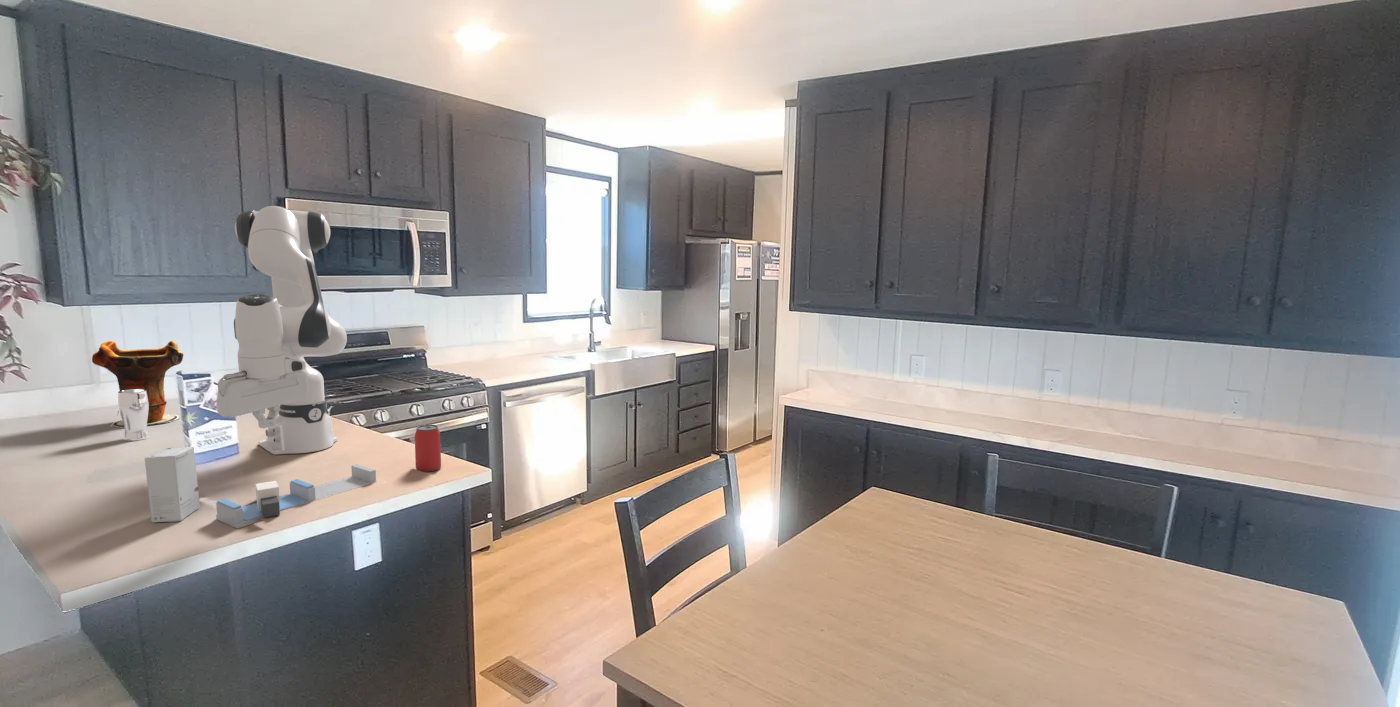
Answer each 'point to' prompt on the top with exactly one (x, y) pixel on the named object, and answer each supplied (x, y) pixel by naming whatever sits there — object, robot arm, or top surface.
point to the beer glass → (134, 413)
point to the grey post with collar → (268, 498)
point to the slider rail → (294, 497)
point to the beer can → (427, 448)
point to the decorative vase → (141, 374)
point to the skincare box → (172, 484)
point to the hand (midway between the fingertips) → (267, 426)
